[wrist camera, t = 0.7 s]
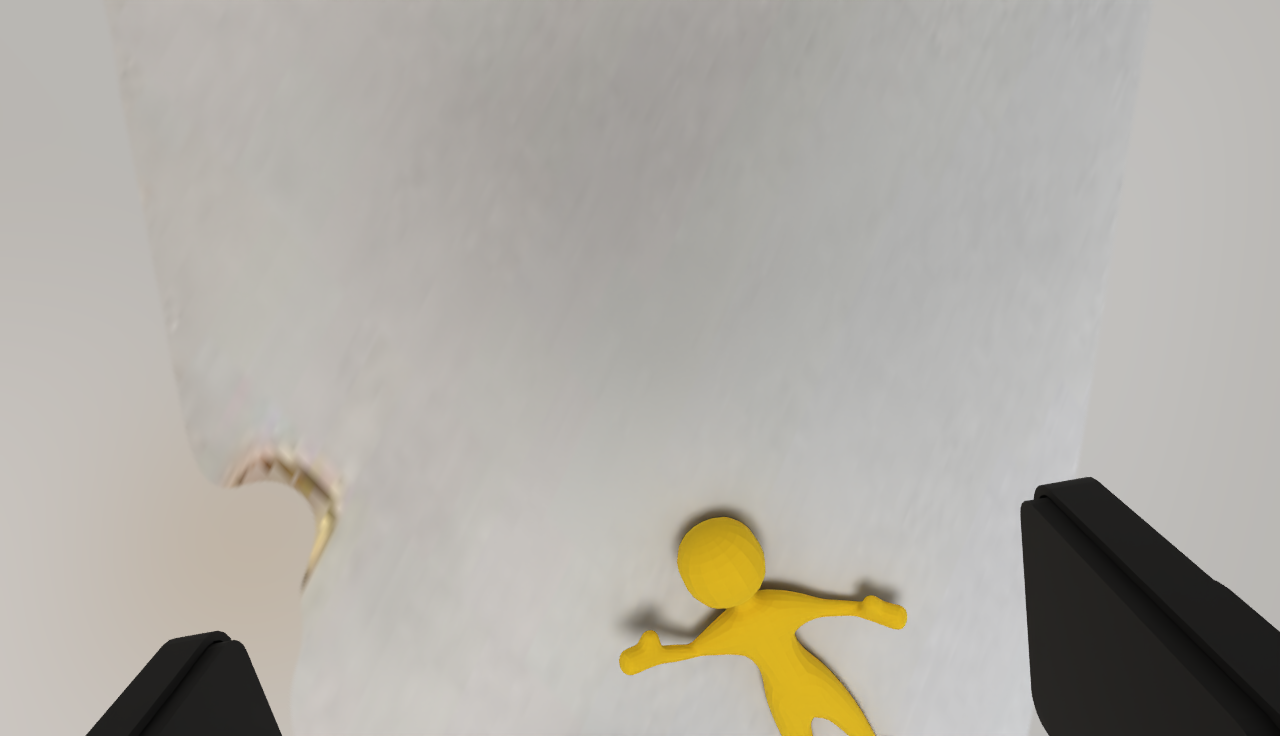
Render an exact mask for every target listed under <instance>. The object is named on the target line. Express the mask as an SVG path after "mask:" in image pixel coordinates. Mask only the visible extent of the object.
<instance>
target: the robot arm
mask: <svg viewBox="0 0 1280 736" xmlns="http://www.w3.org/2000/svg"><path fill="white" fill-rule="evenodd" d="M1021 531H1022V547H1023V563H1024V579H1025V595H1026V611H1027V627H1028V643H1029V659H1030V675H1031V690H1032V697H1033V701H1034V705H1035V708H1036V711H1037V714H1038V716H1039V719H1040V721H1041V723H1042V725H1043V726H1044V728H1045V730H1046V731H1047V733H1048V735H1049V736H1280V632H1279V631H1278V630H1277V629H1276V628H1274V627H1273V626H1272V625H1271V624H1270V623H1269V622H1267V621H1266V620H1265V619H1264V618H1263V617H1262V616H1260V615H1259V614H1258V613H1257V612H1256V611H1255V610H1253V609H1252V608H1251V607H1250V606H1249V605H1247V604H1246V603H1245V602H1244V601H1243V600H1241V599H1240V598H1239V597H1238V596H1237V595H1235V594H1234V593H1233V592H1232V591H1231V590H1230V589H1228V588H1227V587H1225V586H1224V585H1222V584H1220V583H1219V582H1217V581H1215V580H1213V579H1212V578H1211V577H1210V576H1208V575H1207V574H1206V573H1205V572H1204V571H1203V570H1201V569H1200V568H1199V567H1198V566H1197V565H1196V564H1194V563H1193V562H1192V561H1191V560H1190V559H1189V558H1187V557H1186V556H1185V555H1184V554H1183V553H1182V552H1180V551H1179V550H1178V549H1177V548H1176V547H1175V546H1173V545H1172V544H1171V543H1170V542H1169V541H1167V540H1166V539H1165V538H1164V537H1163V536H1162V535H1160V534H1159V533H1158V532H1157V531H1156V530H1155V529H1153V528H1152V527H1151V526H1150V525H1149V524H1148V523H1146V522H1145V521H1144V520H1143V519H1141V517H1139V516H1138V515H1137V514H1136V513H1135V512H1134V511H1132V510H1131V509H1130V508H1129V507H1128V506H1127V505H1125V504H1124V503H1123V502H1122V501H1121V500H1120V499H1118V498H1117V497H1116V496H1115V495H1114V494H1112V493H1111V492H1110V491H1109V490H1108V489H1107V488H1105V487H1104V486H1103V485H1102V484H1101V483H1100V482H1098V481H1097V480H1095V479H1094V478H1092V477H1086V478H1079V479H1074V480H1068V481H1062V482H1057V483H1051V484H1045V485H1040V486H1038V487H1037V488H1036V490H1035V494H1034V500H1029V501H1024V502H1023V503H1022V505H1021ZM86 736H282V735H281V732H280V730H279V728H278V725H277V723H276V720H275V718H274V716H273V713H272V711H271V708H270V706H269V704H268V701H267V699H266V696H265V694H264V691H263V689H262V687H261V684H260V682H259V679H258V677H257V675H256V673H255V670H254V667H253V666H252V663H251V660H250V658H249V655H248V653H247V651H246V649H245V647H244V645H243V644H242V643H240V642H239V641H236V640H231V638H230V637H229V636H227V634H226V633H224V632H220V631H214V632H208V633H202V634H197V635H192V636H185V637H180V638H175V639H172V640H169V641H168V642H167V643H165V644H164V645H163V646H162V647H161V648H160V649H159V651H158V652H157V653H156V654H155V655H154V656H153V658H152V659H151V660H150V661H149V662H148V663H147V665H146V666H145V667H144V668H143V670H142V671H141V672H140V673H139V674H138V675H137V676H136V677H135V679H134V680H133V681H132V682H131V683H130V684H129V686H128V687H127V688H126V689H125V690H124V692H123V693H122V694H121V695H120V696H119V697H118V699H117V700H116V701H115V702H114V703H113V704H112V706H111V707H110V708H109V709H108V710H107V711H106V713H105V714H104V715H103V716H102V717H101V718H100V720H99V721H98V722H97V723H96V724H95V725H94V727H93V728H92V729H91V730H90V731H89V732H88V734H87V735H86Z"/></svg>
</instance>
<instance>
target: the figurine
mask: <svg viewBox="0 0 1280 736" xmlns="http://www.w3.org/2000/svg"><path fill="white" fill-rule="evenodd" d="M677 564H678V569H679V573H680V575H681V577H682V579H683V581H684V583H685V585H686V587H687V589H688V591H689V592H690V593H691V594H692V595H693V597H694V598H696V599H697V600H699V601H700V602H702V603H703V604H705V605H707V606H709V607H711V608H716V609H719V608H727V609H726V610H725V611H724V612H723V613H722V614H721V615H720V616H719V617H717V618H716V619H715V620H714V621H713V622H712V623H711V624H710V625H709V626H708V627H707V628H706V629H705V630H704V631H703V632H702V633H701V634H700V635H699V636H698V637H697V638H696V639H695V640H694V641H693V642H691V643H690V644H687V645H666V646H662V645H661V643H660V640H659V637H658V634H657V633H656V632H655V631H653V630H648V631H646V632H644V633H643V635H642V636H641V638H640V640H639V642H638V644H637V645H635V646H633V647H631V648H628V649H626V650H625V651H623V652H622V653H621V655H620V659H619V663H620V667H621V670H622V671H623V672H624V673H625V674H627V675H634V674H637V673H639V672H641V671H644V670H646V669H648V668H650V667H653V666H656V665H659V664H663V663H670V662H676V661H681V660H686V659H690V658H694V657H698V656H706V655H725V654H731V655H743V656H746V657H748V658H750V659H751V660H753V662H754V663H755V664H756V665H757V666H758V667H759V669H760V671H761V674H762V678H763V683H764V689H765V694H766V698H767V701H768V705H769V708H770V710H771V713H772V715H773V718H774V720H775V722H776V725H777V727H778V729H779V731H780V733H781V735H782V736H813V734H812V729H811V722H812V720H813V718H814V717H818V718H824V719H828V720H830V721H831V722H833V723H834V724H835V725H837V726H838V727H839V728H840V729H842V730H843V731H844V732H845V733H846V734H847V735H849V736H875V734H874V732H873V730H872V729H871V727H870V725H869V723H868V721H867V720H866V718H865V716H864V714H863V713H862V711H861V709H860V708H859V706H858V705H857V703H856V702H855V700H854V699H853V698H852V696H851V695H850V694H849V692H848V691H847V690H846V688H845V687H844V686H843V685H842V683H841V682H840V681H839V680H838V679H837V678H836V676H835V675H834V674H833V673H832V672H831V671H830V670H829V669H828V668H827V667H826V666H825V665H824V664H823V663H822V662H820V661H819V660H818V659H817V658H816V657H814V656H813V655H812V654H810V653H809V652H808V651H807V650H806V649H804V648H803V647H802V646H801V644H800V643H799V642H798V641H797V639H796V636H795V632H796V630H797V629H798V628H799V627H800V626H802V625H803V624H805V623H806V622H808V621H810V620H813V619H816V618H819V617H826V616H857V617H861V618H864V619H867V620H870V621H873V622H876V623H879V624H881V625H884V626H887V627H889V628H892V629H902V628H903V627H904V626H905V624H906V622H907V613H906V610H905V609H904V608H903V607H902V606H900V605H896V604H892V603H888V602H885V601H883V600H881V599H879V598H878V597H876V596H873V595H869V596H867V597H865V598H864V600H863V601H846V600H830V599H821V598H817V597H813V596H810V595H806V594H802V593H797V592H792V591H786V590H769V589H764V590H759V588H760V586H761V584H762V582H763V579H764V576H765V559H764V553H763V551H762V548H761V546H760V544H759V542H758V541H757V539H756V538H755V536H754V535H753V534H752V532H751V531H750V530H749V528H748V527H747V526H745V525H744V524H743V523H741V522H739V521H737V520H734V519H732V518H728V517H719V518H711V519H708V520H706V521H703V522H701V523H699V524H698V525H696V526H694V527H693V528H692V529H691V530H690V531H689V532H688V533H687V534H686V535H685V536H684V538H683V540H682V542H681V544H680V546H679V550H678V559H677Z"/></svg>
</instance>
